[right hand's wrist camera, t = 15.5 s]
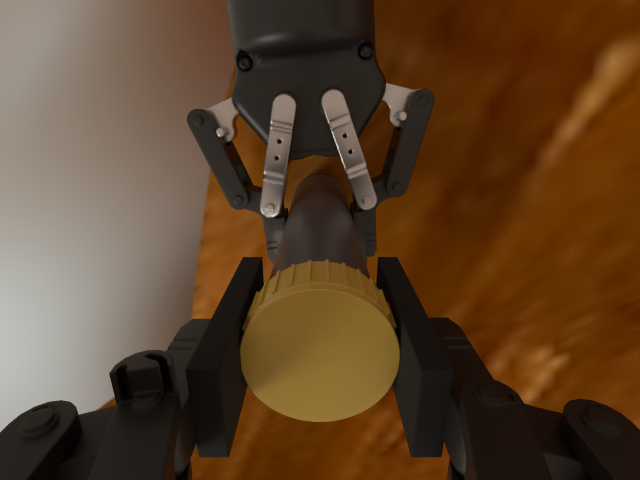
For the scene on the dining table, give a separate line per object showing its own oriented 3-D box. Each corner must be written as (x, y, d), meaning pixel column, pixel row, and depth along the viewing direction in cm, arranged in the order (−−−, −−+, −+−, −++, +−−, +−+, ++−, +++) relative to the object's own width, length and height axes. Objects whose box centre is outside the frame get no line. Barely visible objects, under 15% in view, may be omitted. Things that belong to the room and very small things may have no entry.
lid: (240, 367, 13) (227, 411, 11) (260, 245, 11) (248, 272, 9) (370, 389, 13) (378, 434, 11) (407, 273, 12) (424, 304, 10)
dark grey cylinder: (298, 169, 28) (261, 277, 10) (350, 179, 28) (403, 301, 10) (290, 219, 29) (244, 391, 11) (339, 228, 29) (370, 409, 12)
